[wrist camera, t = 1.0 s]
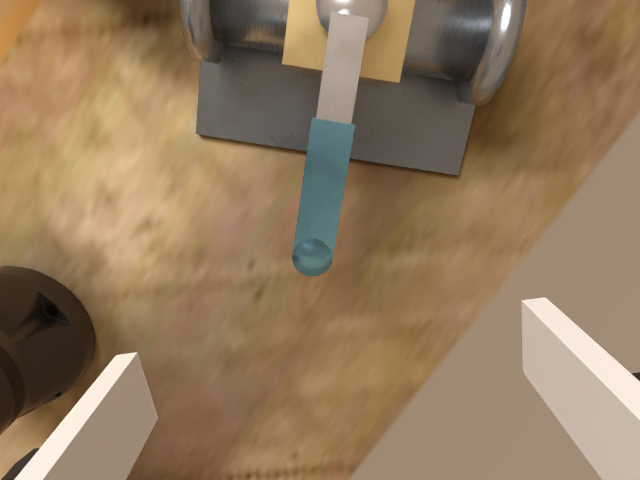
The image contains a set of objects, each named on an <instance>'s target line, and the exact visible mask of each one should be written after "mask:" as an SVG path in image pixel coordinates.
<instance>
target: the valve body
mask: <svg viewBox="0 0 640 480" xmlns="http://www.w3.org/2000/svg"><path fill="white" fill-rule="evenodd" d="M526 1H527V0H388V8H387V13H386V16H385V18H384V20H383V22H382V24H381V26H380V27H379V29H378V30H377V31H376V33H375V34H374V35H373V36H372V37H371V38H369V39H368V40H366V41H365V45H364V51H363V57H362V63H361V69H360V74H359V80H358V86H357V92H356V98H355V104H354V110H353V116H352V122H351V123H354V124H355V129H354V135H353V141H352V147H351V153H350V158H351V159H357V160H364V161H370V162H376V163H383V164H389V165H395V166H402V167H408V168H414V169H421V170H427V171H433V172H440V173H446V174H452V175H459V171H460V167H461V163H462V159H463V155H464V151H465V147H466V143H467V139H468V135H469V131H470V127H471V123H472V118H473V114H474V110H475V106H476V105H477V106H483V105H485V104H486V103H488V102H489V101H490V100H491V99H492V97H493V96H494V95H495V93H496V92H497V90H498V89H499V87H500V85H501V83H502V82H503V80H504V78H505V76H506V74H507V71H508V69H509V67H510V64H511V62H512V59H513V56H514V54H515V51H516V48H517V45H518V41H519V38H520V34H521V30H522V26H523V21H524V16H525V10H526ZM180 12H181V22H182V29H183V34H184V39H185V42H186V46H187V49H188V51H189V53H190V55H191V56H192V58H193V59H195V60H196V61H201V64H200V80H199V95H198V111H197V126H196V134H199V135H205V136H212V137H218V138H224V139H231V140H237V141H243V142H250V143H256V144H262V145H269V146H275V147H281V148H288V149H294V150H300V151H307V148H308V141H309V134H310V127H311V120H312V117H316V114H317V108H318V101H319V94H320V87H321V80H322V73H323V66H324V59H325V52H326V45H327V38H328V35H327V34H326V32H325V31H324V30H323V28H322V26H321V24H320V22H319V19H318V15H317V9H316V0H180Z"/></svg>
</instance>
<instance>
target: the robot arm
mask: <svg viewBox="0 0 640 480" xmlns="http://www.w3.org/2000/svg"><path fill="white" fill-rule="evenodd" d="M522 337H523V338H522V340H523V372H524V374H525V375H526V377H527V378H528V379H529V381H530V382H531V383H532V385H533V386H534V387H535V389H536V390H537V391H538V393H539V394H540V396H541V397H542V398H543V400H544V401H545V402H546V404H547V405H548V407H549V408H550V409H551V411H552V412H553V413H554V415H555V416H556V417H557V419H558V420H559V421H560V423H561V424H562V426H563V427H564V428H565V430H566V431H567V432H568V434H569V435H570V436H571V438H572V439H573V441H574V442H575V443H576V445H577V446H578V447H579V449H580V450H581V451H582V453H583V454H584V456H585V457H586V458H587V460H588V461H589V462H590V464H591V465H592V467H593V468H594V469H595V470H596V472H597V473H598V475H599V476H600V477H601V479H602V480H640V373H632V374H631V373H630V372H629V371H627V370H626V369H625V368H624V367H623V366H622V365H621V364H620V363H618V362H617V361H616V360H615V359H614V358H613V357H612V356H610V355H609V354H608V353H607V352H606V351H605V350H604V349H603V348H602V347H600V346H599V345H598V344H597V343H596V342H595V341H594V340H592V339H591V338H590V337H589V336H588V335H587V334H586V333H585V332H584V331H582V330H581V329H580V328H579V327H578V326H577V325H576V324H574V323H573V322H572V321H571V320H570V319H569V318H568V317H567V316H566V315H564V314H563V313H562V312H561V311H560V310H559V309H558V308H557V307H555V306H554V305H553V304H552V303H551V302H550V301H549V300H548V299H546V298H545V297H544V298H538V299H529V300H523V301H522ZM94 348H95V339H94V332H93V328H92V325H91V322H90V319H89V317H88V315H87V313H86V311H85V310H84V308H83V307H82V305H81V304H80V302H79V301H78V300H77V299H76V298H75V296H74V295H73V294H72V293H71V292H70V291H68V290H67V289H66V288H65V287H64V286H62V285H61V284H60V283H58V282H57V281H55V280H54V279H52V278H50V277H48V276H46V275H44V274H42V273H39V272H37V271H34V270H31V269H27V268H22V267H13V266H3V267H0V435H1V434H2V433H3V432H4V431H5V430H6V429H7V428H8V427H9V426H10V425H11V424H12V423H13V422H14V421H15V420H16V419H17V418H19V417H21V416H23V415H25V414H27V413H29V412H31V411H33V410H35V409H36V408H38V407H39V406H41V405H42V404H45V403H48V402H50V401H52V400H55V399H56V398H58V397H60V396H62V395H63V394H64V393H66V392H67V391H68V390H69V389H71V388H72V387H73V386H74V385H75V383H76V382H77V381H78V380H79V379H80V378H81V377H82V376H83V375H84V373H85V372H86V371H87V369H88V368H89V366H90V364H91V361H92V358H93V355H94ZM157 420H158V415H157V412H156V409H155V406H154V403H153V399H152V396H151V393H150V390H149V387H148V384H147V381H146V377H145V374H144V371H143V368H142V365H141V362H140V359H139V355H138V352H136V353H129V354H121V355H116V356H115V357H114V358H113V360H112V361H111V362H110V363H109V365H108V366H107V367H106V368H105V369H104V371H103V372H102V373H101V374H100V376H99V377H98V378H97V379H96V380H95V382H94V383H93V384H92V385H91V387H90V388H89V389H88V390H87V391H86V393H85V394H84V395H83V396H82V398H81V399H80V400H79V401H78V402H77V404H76V405H75V406H74V407H73V409H72V410H71V411H70V412H69V413H68V415H67V416H66V417H65V418H64V420H63V421H62V422H61V423H60V424H59V426H58V427H57V428H56V429H55V431H54V432H53V433H52V434H51V435H50V437H49V438H48V439H47V440H46V442H45V443H44V444H43V445H42V446H41V448H37V449H33V450H32V451H31V452H29V453H28V454H27V455H26V456H24V457H23V458H22V459H21V460H19V461H18V462H17V463H15V464H14V466H13V467H12V468H11V469H10V470H9V471H8V473H7V474H6V475H5V476H4V477H3V478H2V480H126V479H127V477H128V475H129V473H130V471H131V469H132V467H133V465H134V463H135V462H136V460H137V458H138V456H139V454H140V452H141V450H142V448H143V446H144V444H145V442H146V441H147V439H148V437H149V435H150V433H151V431H152V429H153V427H154V425H155V423H156V421H157Z"/></svg>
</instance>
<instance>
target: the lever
mask: <svg viewBox="0 0 640 480" xmlns="http://www.w3.org/2000/svg"><path fill="white" fill-rule="evenodd" d="M387 8H388V0H316V9H317V15H318V19H319V22H320V24H321V26H322V28H323V30H324V31H325V32H326V34H327V35H328V38H327V45H326V52H325V59H324V66H323V73H322V80H321V87H320V94H319V101H318V108H317V114H316V117H312V120H311V127H310V134H309V141H308V148H307V155H306V162H305V170H304V177H303V184H302V191H301V198H300V205H299V212H298V219H297V226H296V233H295V240H294V247H293V254H292V260H293V264H294V266H295V267H296V269H297V270H298V271H299V272H301V273H302V274H304V275H307V276H318V275H321V274H323V273H325V272H326V271H327V270H328V269H329V267H330V265H331V263H332V258H333V252H334V246H335V240H336V235H337V229H338V223H339V217H340V211H341V205H342V199H343V194H344V188H345V182H346V176H347V170H348V164H349V159H350V153H351V147H352V141H353V135H354V129H355V124H354V123H351V122H352V116H353V110H354V104H355V98H356V92H357V86H358V80H359V74H360V69H361V63H362V57H363V51H364V45H365V41H366V40H368V39H369V38H371V37H372V36H373V35H374V34H375V33H376V31H377V30H378V29H379V27H380V26H381V24H382V22H383V20H384V18H385V16H386V13H387Z"/></svg>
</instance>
